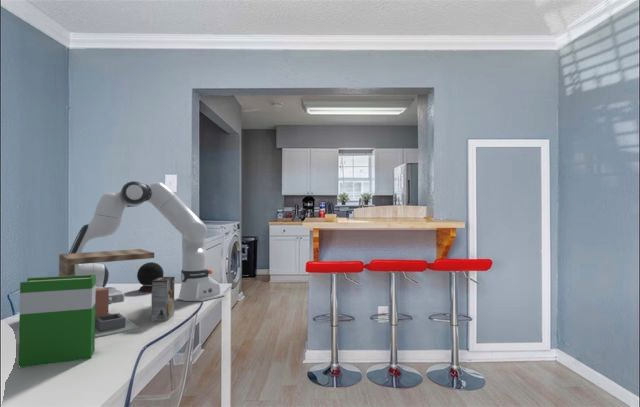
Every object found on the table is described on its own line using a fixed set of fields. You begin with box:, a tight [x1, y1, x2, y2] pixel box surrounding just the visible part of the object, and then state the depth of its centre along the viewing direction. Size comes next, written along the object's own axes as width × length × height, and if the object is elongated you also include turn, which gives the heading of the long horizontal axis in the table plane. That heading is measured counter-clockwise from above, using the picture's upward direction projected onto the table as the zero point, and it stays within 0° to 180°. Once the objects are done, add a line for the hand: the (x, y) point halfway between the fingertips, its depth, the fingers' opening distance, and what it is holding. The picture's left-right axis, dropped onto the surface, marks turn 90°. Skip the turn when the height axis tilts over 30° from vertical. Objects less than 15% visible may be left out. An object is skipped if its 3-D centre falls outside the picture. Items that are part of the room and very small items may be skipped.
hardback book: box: [18, 275, 96, 368], centre depth 115 cm, size 18×7×24 cm, turn 113°
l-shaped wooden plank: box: [58, 248, 155, 276], centre depth 142 cm, size 28×16×28 cm, turn 133°
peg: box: [95, 288, 109, 317], centre depth 153 cm, size 4×4×12 cm
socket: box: [95, 312, 140, 339], centre depth 143 cm, size 16×16×4 cm
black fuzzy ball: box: [136, 261, 164, 293], centre depth 208 cm, size 13×13×15 cm
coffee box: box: [150, 276, 175, 322], centre depth 157 cm, size 9×6×16 cm
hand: (101, 303), depth 153 cm, fingers closed on peg, 4 cm apart
